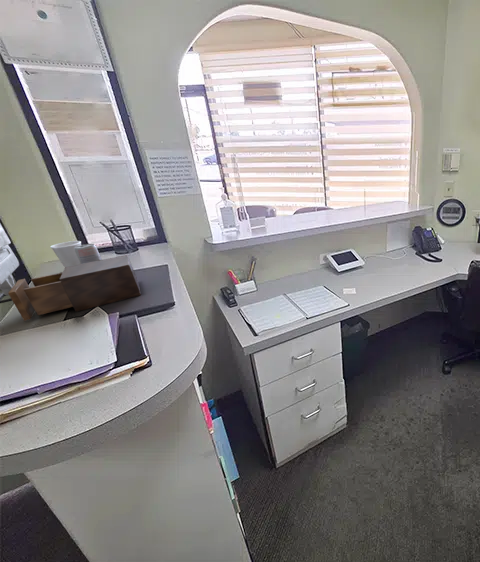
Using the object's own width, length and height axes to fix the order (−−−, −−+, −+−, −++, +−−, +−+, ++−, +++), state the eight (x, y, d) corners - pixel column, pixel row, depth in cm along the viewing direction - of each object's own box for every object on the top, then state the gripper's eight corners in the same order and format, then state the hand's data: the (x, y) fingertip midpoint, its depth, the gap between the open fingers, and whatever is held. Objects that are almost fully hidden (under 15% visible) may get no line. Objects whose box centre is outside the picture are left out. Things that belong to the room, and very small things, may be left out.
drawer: (-2, 327, 75) (-20, 298, 72) (9, 311, 83) (-7, 284, 80) (93, 303, 85) (81, 277, 82) (95, 290, 93) (84, 266, 90)
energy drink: (105, 275, 108) (91, 242, 103) (112, 278, 105) (97, 244, 100) (86, 281, 104) (70, 247, 99) (93, 284, 101) (77, 249, 96)
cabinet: (75, 311, 83) (59, 279, 79) (79, 296, 92) (65, 266, 88) (141, 295, 91) (129, 264, 87) (138, 282, 100) (127, 254, 96)
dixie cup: (65, 269, 117) (53, 243, 113) (93, 264, 121) (82, 239, 117) (60, 275, 111) (47, 248, 107) (90, 269, 115) (78, 244, 111)
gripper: (-25, 236, 79) (4, 285, 85) (-58, 253, 64) (-20, 311, 70) (10, 231, 82) (36, 278, 88) (-13, 246, 67) (20, 302, 73)
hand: (11, 293), depth 79 cm, fingers closed
